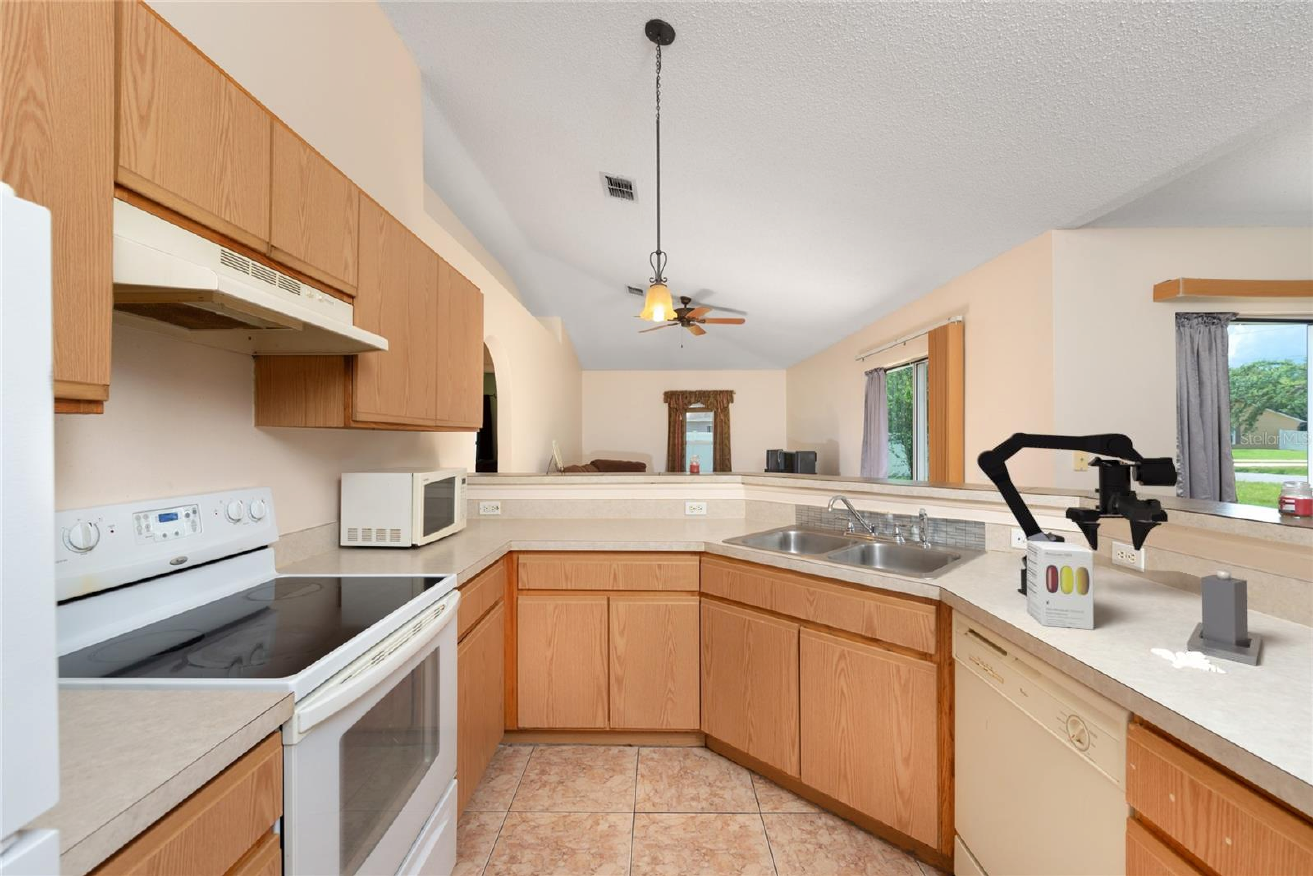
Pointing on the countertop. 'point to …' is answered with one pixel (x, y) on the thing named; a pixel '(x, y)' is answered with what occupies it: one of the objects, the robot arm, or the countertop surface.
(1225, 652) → the socket plate
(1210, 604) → the plug
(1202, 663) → the acanthus leaf ornament
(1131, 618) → the countertop surface
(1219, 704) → the countertop surface
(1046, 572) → the supplement box
